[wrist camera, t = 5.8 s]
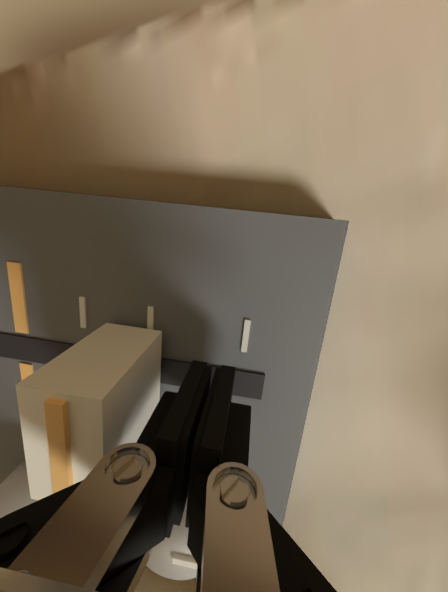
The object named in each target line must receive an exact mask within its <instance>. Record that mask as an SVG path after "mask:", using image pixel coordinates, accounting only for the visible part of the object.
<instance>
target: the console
mask: <svg viewBox="0 0 448 592" xmlns="http://www.w3.org/2000/svg"><path fill="white" fill-rule="evenodd" d="M348 223H349V221H345V220H335V219H325V218H315V217H305V216H295V215H285V214H275V213H265V212H256V211H246V210H236V209H226V208H216V207H206V206H196V205H186V204H176V203H166V202H156V201H146V200H136V199H126V198H116V197H106V196H96V195H86V194H76V193H67V192H57V191H47V190H37V189H27V188H17V187H7V186H0V518H2V517H4V516H5V515H7V514H9V513H12V512H14V511H16V510H18V509H20V508H23V507H25V506H27V505H29V504H31V503H34V502H36V501H38V500H35V499H31V497H30V490H29V482H28V475H27V468H26V460H25V453H24V445H23V438H22V430H21V423H20V416H19V408H18V401H17V393H16V386H15V385H16V384H18V383H19V382H21V381H22V380H23V379H25V378H26V377H28V376H29V375H31V374H32V373H34V372H35V371H37V370H38V369H40V368H41V367H42V366H44V365H45V364H47V363H48V362H50V361H51V360H53V359H54V358H56V357H57V356H59V355H60V354H62V353H63V352H64V351H66V350H67V349H69V348H70V347H72V346H73V345H75V344H76V343H78V342H79V341H81V340H82V339H83V338H85V337H86V336H88V335H89V334H91V333H92V332H94V331H95V330H97V329H98V328H100V327H101V326H103V325H104V324H105V323H112V324H118V325H125V326H132V327H139V328H146V329H152V330H159V331H162V348H161V375H160V399H161V397H162V395H163V394H164V392H165V391H170V392H176V393H178V391H179V388H180V386H181V384H182V382H183V380H184V378H185V376H186V374H187V372H188V370H189V368H190V365H191V363H192V361H193V360H196V361H202V362H207V366H209V367H212V374H211V383H212V379H213V376H214V373H215V369H216V368H221V367H222V365H226V366H232V367H236V371H235V378H234V386H233V393H232V400H231V402H233V403H238V404H244V405H250V406H251V424H250V443H249V462H248V467H250V468H251V469H252V470H253V471H254V472H255V473H256V474H257V475H258V477H259V478H260V480H261V482H262V486H263V489H264V495H265V501H266V507H267V509H268V510H269V512H270V513H271V514H272V515H273V516H274V518H275V519H276V520H277V521H278V522H279V524H280V525H281V526H282V525H283V520H284V516H285V511H286V507H287V502H288V498H289V493H290V488H291V484H292V479H293V475H294V470H295V466H296V461H297V456H298V452H299V447H300V443H301V438H302V434H303V429H304V424H305V420H306V415H307V411H308V406H309V402H310V397H311V392H312V388H313V383H314V379H315V374H316V370H317V365H318V360H319V356H320V351H321V347H322V342H323V338H324V333H325V328H326V324H327V319H328V315H329V310H330V306H331V301H332V296H333V292H334V287H335V283H336V278H337V274H338V269H339V264H340V260H341V255H342V251H343V246H344V242H345V237H346V232H347V228H348ZM211 383H210V386H211ZM187 500H188V498H187ZM186 511H187V501H186V505H185V509H184V513H183V516H182V520H181V524H180V526H177V525H173V528H172V532H171V535H170V538H166V537H165V539H164V541H162V542H161V543H159V544H158V545H156V546H155V547H153V548H152V551H151V554H150V557H149V560H148V562H147V565H146V567H147V568H149V569H150V570H152V571H153V572H155V573H156V574H158V575H160V576H163V577H165V578H169V579H173V580H189V579H193V578H194V579H196V571H197V563H196V561H195V559H194V558H193V556H192V554H191V552H190V550H189V548H188V546H187V541H188V531H189V528H186V527H185V522H186Z"/></svg>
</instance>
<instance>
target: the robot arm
mask: <svg viewBox="0 0 448 592" xmlns="http://www.w3.org/2000/svg"><path fill="white" fill-rule="evenodd" d="M235 371H236V367H232V366H226V365H222V367H221V368H216V369H215V373H214V376H213V379H212V383H211V374H212V367H209V366H207V362H202V361H196V360H193V361H192V363H191V365H190V368H189V370H188V372H187V374H186V376H185V378H184V380H183V382H182V384H181V386H180V388H179V391H178V393H176V392H170V391H165V392H164V394H163V395H162V397H161V399H160V401H159V402H158V404H157V406H156V408H155V410H154V411H153V413H152V415H151V417H150V419H149V420H148V422H147V424H146V426H145V428H144V429H143V431H142V433H141V435H140V437H139V438H138V440H137V442H136V443H126V444H122V445H119V446H117V447H115V448H113V449H112V450H110V451H109V452H108V453H107V454H106V455H105V456H104V457H103V458H102V459H101V460H100V461H99V463H98V464H97V465H96V466H95V467H94V468H93V470H92V471H91V472H90V473H89V474H88V475H87V477H86V478H85V479H84V480H82V481H80V482H78V483H76V484H73V485H71V486H69V487H67V488H65V489H62V490H60V491H58V492H56V493H53V494H51V495H49V496H47V497H45V498H42V499H40V500H38V501H36V502H34V503H31V504H29V505H27V506H25V507H23V508H20V509H18V510H16V511H14V512H12V513H9V514H7V515H5V516H4V517H2V518H0V592H134V590H135V588H136V586H137V584H138V582H139V580H140V578H141V575H142V573H143V571H144V569H145V567H146V565H147V562H148V560H149V557H150V554H151V551H152V548H153V547H155V546H156V545H158V544H159V543H161V542H162V541H164V539H165V537H166V538H170V535H171V532H172V528H173V525H177V526H180V524H181V520H182V516H183V513H184V509H185V505H186V501H187V511H186V522H185V527H186V528H189V531H188V541H187V546H188V548H189V550H190V552H191V554H192V556H193V558H194V559H195V561H196V563H197V571H196V588H195V592H337V591H336V590H335V589H334V588H333V587H332V585H331V584H330V583H329V582H328V581H327V580H326V578H325V577H324V576H323V575H322V574H321V572H320V571H319V570H318V569H317V568H316V566H315V565H314V564H313V563H312V562H311V560H310V559H309V558H308V557H307V556H306V555H305V553H304V552H303V551H302V550H301V549H300V547H299V546H298V545H297V544H296V543H295V541H294V540H293V539H292V538H291V537H290V535H289V534H288V533H287V532H286V531H285V530H284V528H283V527H282V526H281V525H280V524H279V522H278V521H277V520H276V519H275V518H274V516H273V515H272V514H271V513H270V512H269V510H268V509H267V507H266V501H265V495H264V489H263V486H262V482H261V480H260V478H259V477H258V475H257V474H256V473H255V472H254V471H253V470H252V469H251V468H250V467H248V462H249V443H250V424H251V406H250V405H244V404H238V403H233V402H231V400H232V393H233V386H234V378H235ZM210 383H211V386H210ZM187 498H188V500H187Z"/></svg>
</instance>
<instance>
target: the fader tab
mask: <svg viewBox="0 0 448 592" xmlns="http://www.w3.org/2000/svg"><path fill="white" fill-rule="evenodd" d="M161 348H162V331H159V330H152V329H146V328H139V327H132V326H125V325H118V324H112V323H105V324H104V325H103V326H101V327H100V328H98V329H97V330H95V331H94V332H92V333H91V334H89V335H88V336H86V337H85V338H83V339H82V340H81V341H79V342H78V343H76V344H75V345H73V346H72V347H70V348H69V349H67V350H66V351H64V352H63V353H62V354H60V355H59V356H57V357H56V358H54V359H53V360H51V361H50V362H48V363H47V364H45V365H44V366H42V367H41V368H40V369H38V370H37V371H35V372H34V373H32V374H31V375H29V376H28V377H26V378H25V379H23V380H22V381H21V382H19V383H18V384H16V385H15V386H16V393H17V401H18V408H19V416H20V423H21V430H22V438H23V445H24V453H25V460H26V468H27V475H28V482H29V490H30V497H31V499H35V500H40V499H42V498H45V497H47V496H49V495H51V494H53V493H56V492H58V491H60V490H62V489H65V488H67V487H69V486H71V485H73V484H76V483H78V482H80V481H82V480H84V479H85V478H86V477H87V475H88V474H89V473H90V472H91V471H92V470H93V468H94V467H95V466H96V465H97V464H98V463H99V461H100V460H101V459H102V458H103V457H104V456H105V455H106V454H107V453H108V452H109V451H110V450H112V449H113V448H115V447H117V446H119V445H122V444H126V443H136V442H137V440H138V438H139V437H140V435H141V433H142V431H143V429H144V428H145V426H146V424H147V422H148V420H149V419H150V417H151V415H152V413H153V411H154V410H155V408H156V406H157V404H158V402H159V401H160V375H161Z"/></svg>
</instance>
